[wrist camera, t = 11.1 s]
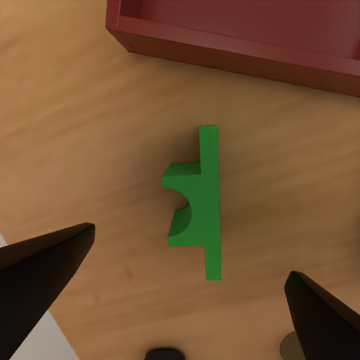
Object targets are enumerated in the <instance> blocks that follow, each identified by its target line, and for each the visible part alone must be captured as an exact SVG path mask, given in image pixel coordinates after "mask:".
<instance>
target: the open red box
mask: <svg viewBox="0 0 360 360" xmlns="http://www.w3.org/2000/svg"><path fill="white" fill-rule="evenodd" d="M105 28H106V29H107V30H108V31H109V32H110V33H111V34H112V35H113V36H114V37H115V38H116V39H117V40H118V41H119V42H120V43H121V44H122V46H123V47H124V48H125V49H127V51H128V52H132V53H137V54H142V55H148V56H153V57H158V58H163V59H168V60H173V61H178V62H183V63H188V64H193V65H199V66H204V67H209V68H214V69H219V70H224V71H229V72H234V73H239V74H244V75H250V76H255V77H260V78H265V79H270V80H275V81H280V82H285V83H290V84H295V85H301V86H306V87H311V88H316V89H321V90H326V91H331V92H336V93H341V94H346V95H352V96H357V97H360V0H107V12H106V25H105Z"/></svg>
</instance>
